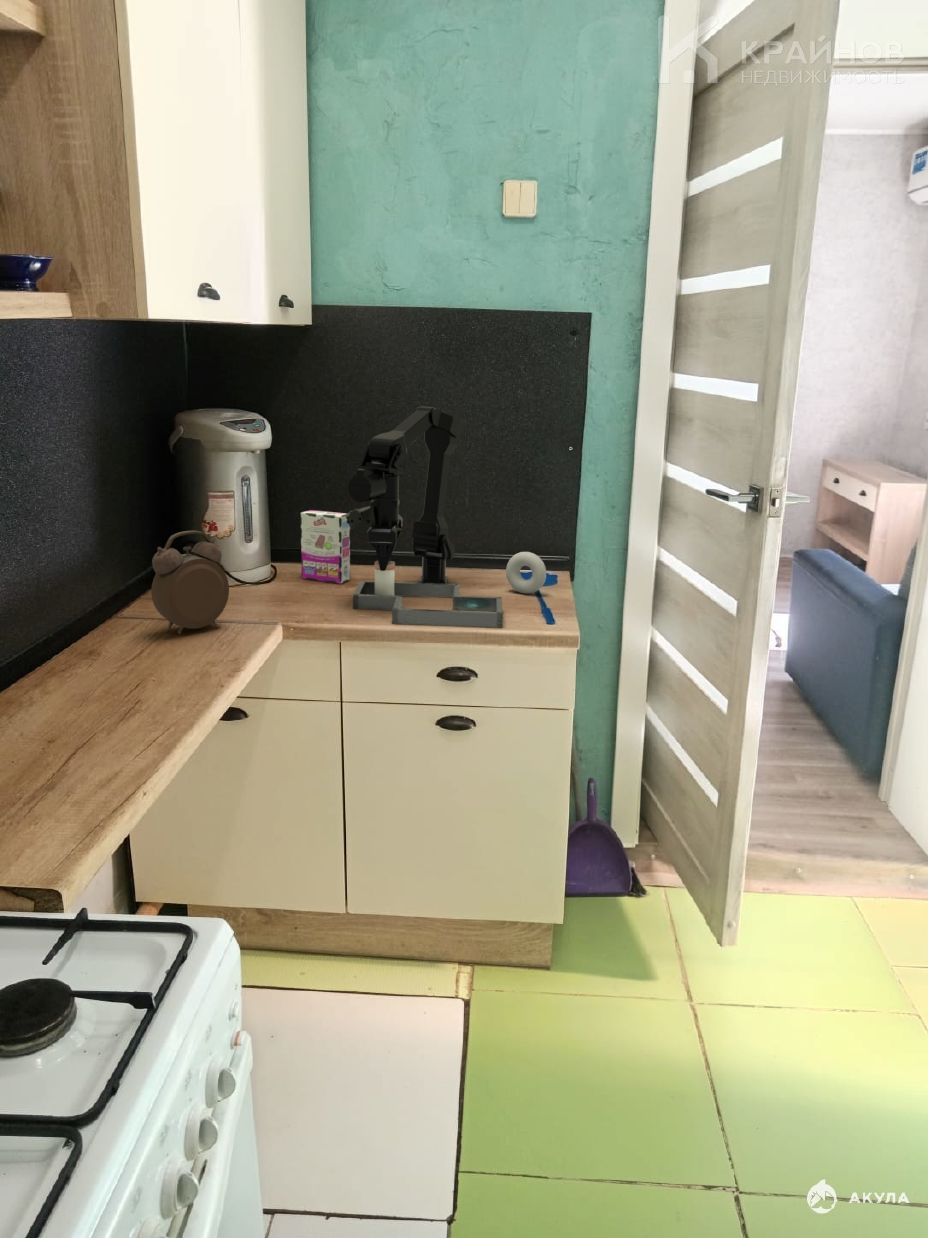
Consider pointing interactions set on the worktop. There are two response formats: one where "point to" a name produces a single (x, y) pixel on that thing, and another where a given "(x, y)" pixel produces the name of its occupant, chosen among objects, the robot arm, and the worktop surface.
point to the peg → (384, 579)
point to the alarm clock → (189, 584)
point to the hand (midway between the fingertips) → (385, 565)
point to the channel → (368, 600)
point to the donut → (536, 568)
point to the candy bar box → (325, 546)
